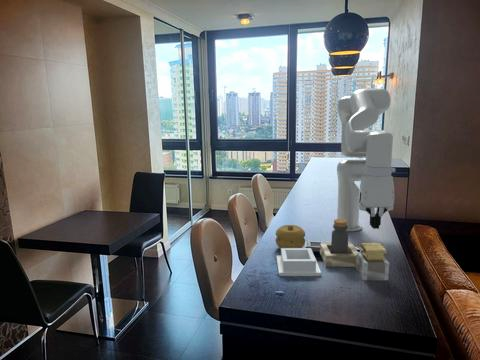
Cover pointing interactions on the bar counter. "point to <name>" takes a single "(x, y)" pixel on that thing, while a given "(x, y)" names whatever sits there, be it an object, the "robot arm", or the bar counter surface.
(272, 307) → the bar counter surface
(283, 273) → the cradle
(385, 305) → the bar counter surface
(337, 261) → the socket block
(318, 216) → the bar counter surface
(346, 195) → the robot arm
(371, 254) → the button
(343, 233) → the bottle
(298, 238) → the pot
